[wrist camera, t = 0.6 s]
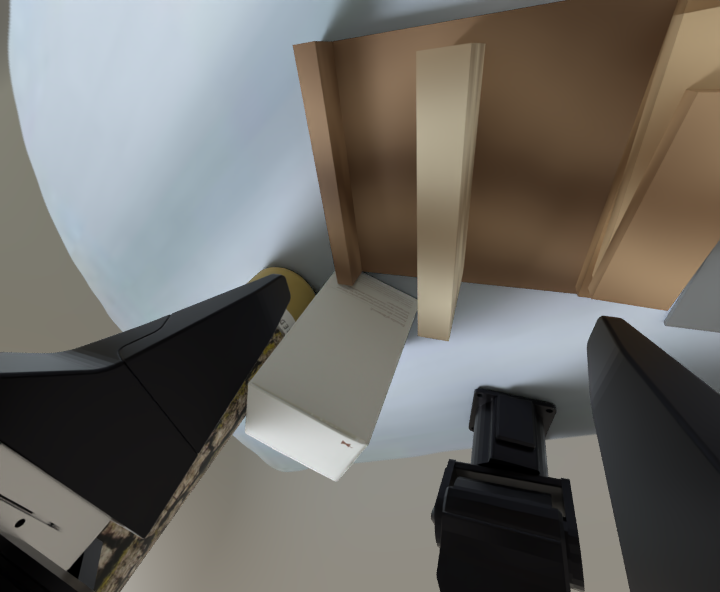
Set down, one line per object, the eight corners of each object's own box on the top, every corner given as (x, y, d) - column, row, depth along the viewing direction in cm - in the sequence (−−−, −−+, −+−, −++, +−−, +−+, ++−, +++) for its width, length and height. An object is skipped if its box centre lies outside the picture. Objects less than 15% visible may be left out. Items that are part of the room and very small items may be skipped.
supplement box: (340, 259, 25) (244, 381, 16) (423, 300, 25) (372, 449, 16) (322, 316, 30) (240, 433, 21) (390, 351, 30) (337, 487, 21)
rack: (651, 294, 19) (668, 324, 17) (351, 264, 25) (337, 284, 23) (835, -46, 10) (915, -67, 8) (318, 45, 17) (292, 44, 15)
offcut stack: (653, 294, 18) (673, 329, 16) (569, 286, 19) (577, 317, 17) (829, -26, 10) (916, -46, 8) (669, -1, 12) (705, -11, 9)
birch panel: (463, 269, 21) (448, 341, 16) (439, 267, 22) (417, 336, 17) (485, 43, 14) (471, 42, 9) (448, 48, 15) (416, 51, 10)
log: (309, 263, 27) (-114, 722, 9) (329, 323, 31) (64, 731, 12) (248, 263, 30) (-170, 611, 11) (273, 318, 33) (-11, 646, 15)
